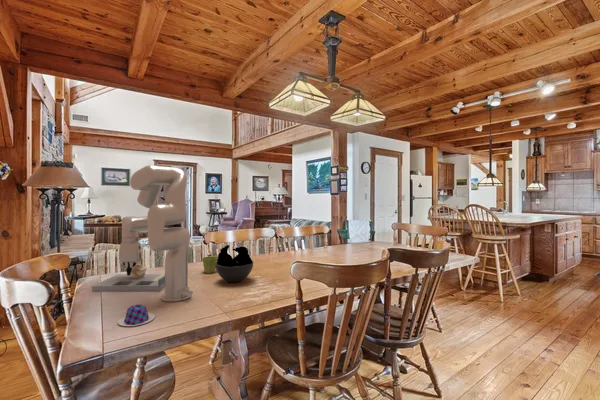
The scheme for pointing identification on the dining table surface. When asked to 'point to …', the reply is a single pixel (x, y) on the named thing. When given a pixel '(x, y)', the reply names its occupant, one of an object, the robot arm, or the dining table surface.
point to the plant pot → (209, 264)
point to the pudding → (136, 316)
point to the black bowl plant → (234, 264)
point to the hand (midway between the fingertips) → (130, 274)
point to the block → (138, 271)
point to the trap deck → (132, 283)
